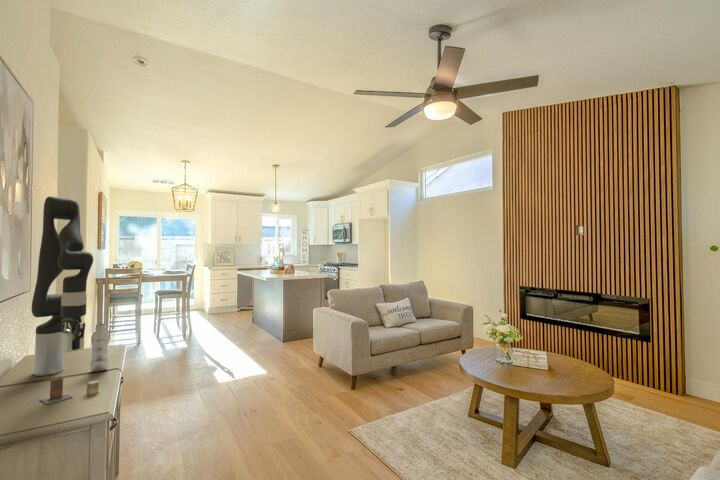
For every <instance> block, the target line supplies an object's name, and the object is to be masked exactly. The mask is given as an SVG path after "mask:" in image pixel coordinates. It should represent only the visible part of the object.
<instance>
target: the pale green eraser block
mask: <svg viewBox="0 0 720 480" xmlns="http://www.w3.org/2000/svg"><path fill="white" fill-rule="evenodd" d="M84 344H85V336H84V337H83V338H81V339H80V348H79V349H77V350H72V334H70V332H64V333H61V351H63V353H72V352H76V351H77V352H78V351H81V350H84Z"/></svg>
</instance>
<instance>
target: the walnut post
mask: <svg viewBox="0 0 720 480" xmlns="http://www.w3.org/2000/svg"><path fill="white" fill-rule="evenodd" d="M63 388H64V378H63V377H60V376H59V377H55V378H52V379H50V389H49V396H45V397H42V398H39V400H38V401H39V402H41V403H43V404H45V405H47V406H49V405H50V406H51V405H52V404H56V403H60V402H62V401H65V400H70V399H73V398H74V397H73V396H72V395H70V394H68V393H66V392H63V391H64V390H63Z"/></svg>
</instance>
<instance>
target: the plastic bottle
mask: <svg viewBox="0 0 720 480" xmlns="http://www.w3.org/2000/svg"><path fill="white" fill-rule="evenodd" d="M94 330H95V331H94V332H93V334H92V335H91V336H90V343H91V352H92V353H91V360H90V363H89V369H90V371H91V372H94V373H97V372H102V371H105V370H107V369H108V367H109V363H110V362H109V359H108V347H109V339H110V334H109V333H108V331H107V324H106V323H98V324H95V329H94Z"/></svg>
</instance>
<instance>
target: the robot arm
mask: <svg viewBox="0 0 720 480" xmlns="http://www.w3.org/2000/svg"><path fill="white" fill-rule="evenodd" d="M43 203H44V204H43V212H42V213H43V214H42V217H43V218H42V219H43V220H42V234H41V243H40V248H39V254H38V265H37V267H38V268H37V274H36V284H35V287H34V292H33V296H32V299H31V300H32V301H31V314H32V316H33V317H34V318H45V317H51V318H50V319H49V320H47V321H45V322H43V323H42V324H39V325H37V326H36V327H35V338H34V340H35V343H34V344H35V345H34V365H33V376H37V377H38V376H49V375H54V374H57V373H61V372H62V371H63V368H64V367H63V365H64V351H61V333H64V332H70V334H72V350H77V349H79V348H80V339H81V338H83V337H84V338H85V329H86V322H82V317H83V316H85V315H86V314H87V301H88V299H87V298H88V297H87V282H88V276H89V273H90V270H91V268H92V265H93V263H94V256H93V254H92V253H91V252H90V251H83V250H84V242H83V237H82V235H81V234H82V233H81V214H80V205H79V202H78V201H77V200H76V199H74V198H73V199H72V198H67V197H58V196H47V197H46V199H45V201H44V202H43ZM55 220H65V221H69V222H68V223H67V224H66V225H64V226H63V228H62V229H61V230H60V231H59V233H58V231H57V229H56V225H55ZM72 270H74V271H75V270H76V271H78V270H79V272H78V273H77V274H73V275H70V276H69V275H68V276H65V277H64V278H63V279H62V280H63V281H62V293H54V294H53V293H51V294H48V292H49V289H50V287H51V285H52V284H53V282H54V281H55V280H56V279H57V278H58V277H59V276H60V275H61V274H62V273H63V271H72ZM77 351H78V350H77Z"/></svg>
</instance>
